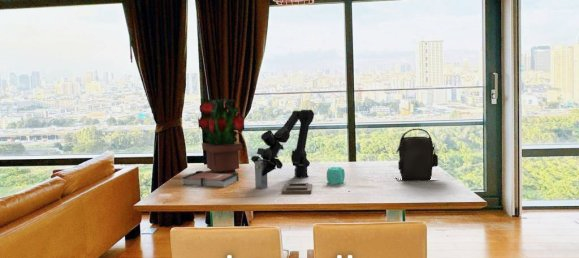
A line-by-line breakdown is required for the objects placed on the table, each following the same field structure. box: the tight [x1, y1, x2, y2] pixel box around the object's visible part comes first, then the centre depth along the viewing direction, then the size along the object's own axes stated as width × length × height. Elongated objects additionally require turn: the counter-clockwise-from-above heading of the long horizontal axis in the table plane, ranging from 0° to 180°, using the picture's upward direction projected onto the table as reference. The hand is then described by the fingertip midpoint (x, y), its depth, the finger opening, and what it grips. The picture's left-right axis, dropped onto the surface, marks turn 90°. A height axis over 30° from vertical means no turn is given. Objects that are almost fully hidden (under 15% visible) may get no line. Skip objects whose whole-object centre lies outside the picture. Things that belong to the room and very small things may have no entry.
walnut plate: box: [281, 182, 313, 195], centre depth 243 cm, size 14×14×2 cm
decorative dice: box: [326, 166, 346, 185], centre depth 257 cm, size 8×8×8 cm
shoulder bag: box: [396, 128, 439, 182], centre depth 259 cm, size 23×9×28 cm, turn 87°
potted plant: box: [197, 98, 245, 174], centre depth 296 cm, size 22×22×45 cm
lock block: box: [254, 161, 268, 190], centre depth 250 cm, size 5×4×14 cm
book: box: [182, 170, 240, 188], centre depth 266 cm, size 26×18×5 cm
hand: (259, 175), depth 249 cm, fingers closed on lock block, 4 cm apart
